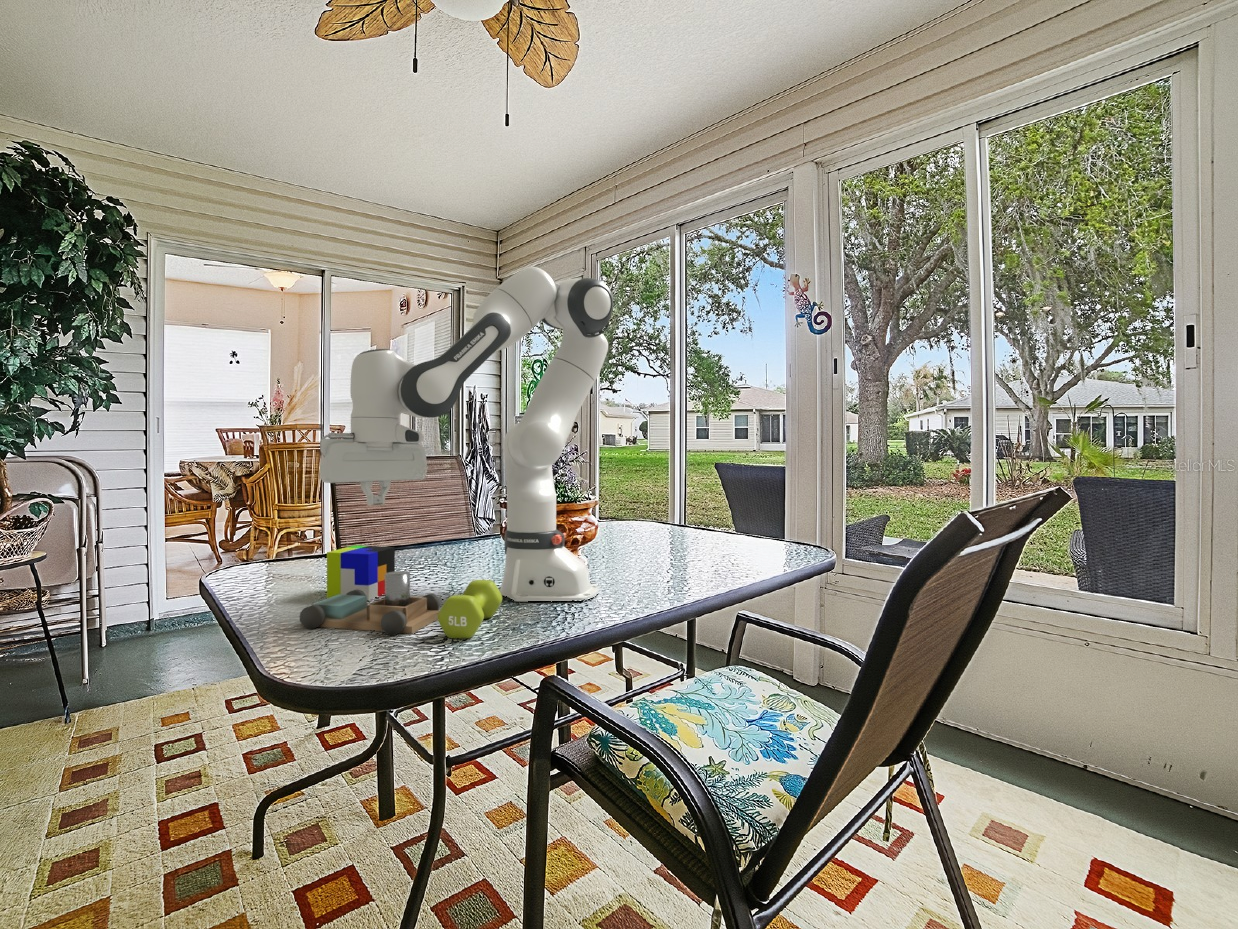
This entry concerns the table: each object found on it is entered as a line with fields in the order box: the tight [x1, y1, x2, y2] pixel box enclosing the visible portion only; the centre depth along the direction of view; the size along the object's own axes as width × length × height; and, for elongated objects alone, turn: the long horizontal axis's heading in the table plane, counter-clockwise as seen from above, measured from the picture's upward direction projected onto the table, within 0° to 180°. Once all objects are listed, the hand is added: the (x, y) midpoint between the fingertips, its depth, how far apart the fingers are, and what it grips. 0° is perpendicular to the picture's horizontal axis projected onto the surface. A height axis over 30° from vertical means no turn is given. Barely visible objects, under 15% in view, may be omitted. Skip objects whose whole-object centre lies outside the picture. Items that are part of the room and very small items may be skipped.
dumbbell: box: [437, 579, 503, 640], centre depth 113 cm, size 16×8×7 cm, turn 176°
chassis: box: [299, 589, 442, 636], centre depth 116 cm, size 22×14×4 cm, turn 79°
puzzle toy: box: [326, 545, 396, 601], centre depth 137 cm, size 10×10×10 cm
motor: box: [384, 570, 411, 607], centre depth 115 cm, size 5×5×8 cm
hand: (375, 504), depth 120 cm, fingers closed
